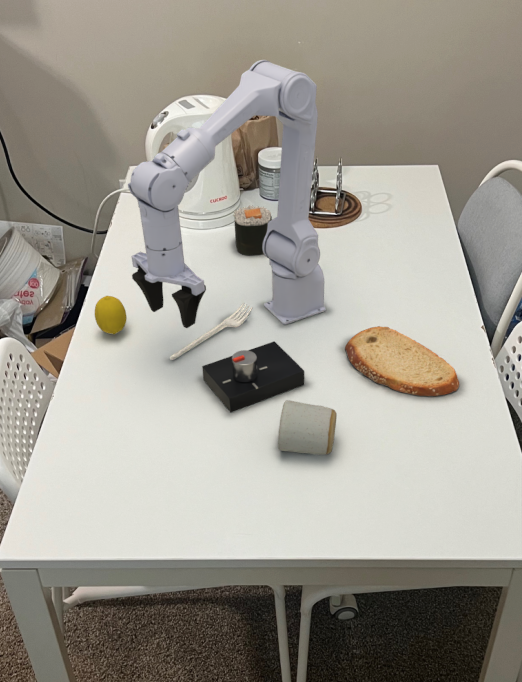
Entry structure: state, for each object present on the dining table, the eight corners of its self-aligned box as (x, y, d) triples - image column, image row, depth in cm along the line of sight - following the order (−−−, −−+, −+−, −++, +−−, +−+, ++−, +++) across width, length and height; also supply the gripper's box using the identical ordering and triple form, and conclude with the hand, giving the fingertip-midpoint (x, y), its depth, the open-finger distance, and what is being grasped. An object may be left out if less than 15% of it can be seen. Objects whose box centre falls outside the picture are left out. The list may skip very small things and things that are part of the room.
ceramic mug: (331, 466, 111) (333, 426, 106) (277, 461, 112) (276, 421, 107) (338, 420, 119) (340, 382, 114) (287, 416, 120) (287, 377, 115)
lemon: (123, 344, 135) (115, 306, 130) (94, 340, 136) (85, 302, 130) (133, 327, 139) (127, 289, 134) (105, 324, 140) (98, 286, 134)
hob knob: (250, 365, 125) (249, 345, 122) (261, 377, 122) (261, 358, 120) (228, 372, 123) (227, 353, 121) (240, 385, 121) (238, 366, 118)
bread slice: (463, 395, 123) (466, 377, 121) (355, 400, 122) (356, 382, 120) (439, 334, 137) (442, 316, 134) (342, 338, 136) (343, 321, 133)
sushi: (270, 235, 165) (269, 201, 160) (274, 254, 159) (273, 219, 154) (233, 238, 165) (231, 204, 159) (236, 257, 159) (234, 222, 153)
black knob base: (274, 354, 132) (274, 340, 130) (304, 385, 126) (304, 370, 124) (203, 380, 127) (201, 365, 125) (230, 413, 120) (229, 398, 118)
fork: (165, 357, 132) (163, 349, 130) (242, 310, 143) (241, 301, 142) (177, 364, 130) (176, 356, 129) (255, 316, 141) (254, 307, 140)
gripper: (112, 237, 116) (125, 312, 125) (177, 267, 109) (186, 343, 118) (146, 221, 120) (156, 294, 129) (211, 248, 113) (217, 324, 122)
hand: (173, 317), depth 124 cm, fingers open, 7 cm apart
